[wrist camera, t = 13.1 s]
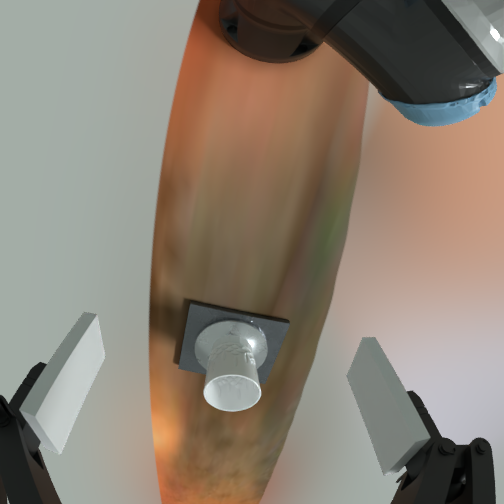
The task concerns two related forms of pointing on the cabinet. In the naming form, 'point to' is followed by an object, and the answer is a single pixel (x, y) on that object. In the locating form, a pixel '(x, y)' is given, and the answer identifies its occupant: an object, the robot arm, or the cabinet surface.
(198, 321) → the duct collar
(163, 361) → the cabinet surface
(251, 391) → the white cup
